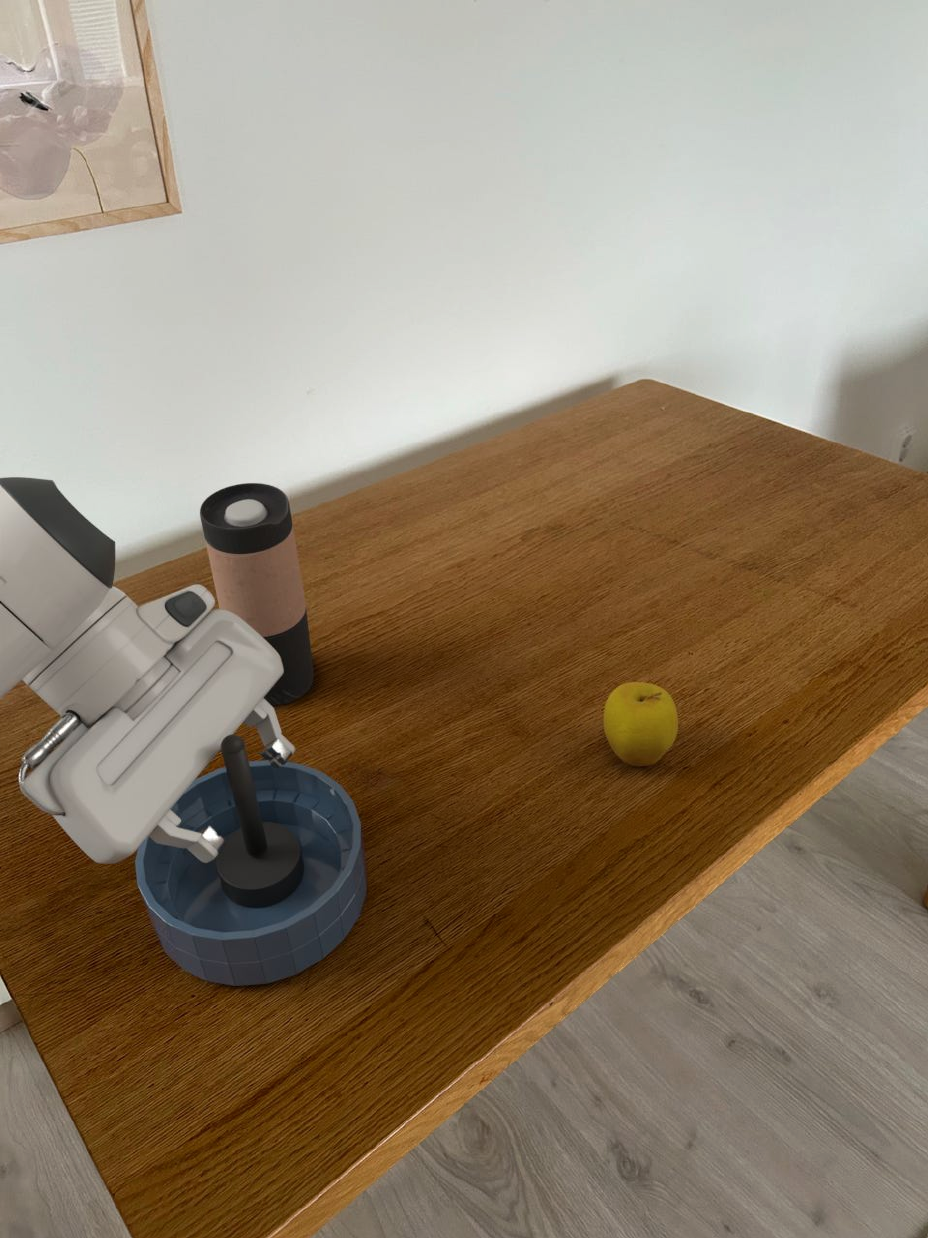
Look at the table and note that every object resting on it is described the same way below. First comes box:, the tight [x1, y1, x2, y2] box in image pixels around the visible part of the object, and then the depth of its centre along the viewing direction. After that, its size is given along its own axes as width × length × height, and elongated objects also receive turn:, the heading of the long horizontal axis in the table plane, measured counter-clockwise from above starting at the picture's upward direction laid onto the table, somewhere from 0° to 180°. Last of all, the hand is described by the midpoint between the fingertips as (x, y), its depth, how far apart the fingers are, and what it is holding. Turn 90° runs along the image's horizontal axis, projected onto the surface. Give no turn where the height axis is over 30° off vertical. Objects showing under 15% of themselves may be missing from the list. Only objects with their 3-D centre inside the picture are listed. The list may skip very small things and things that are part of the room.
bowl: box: [134, 759, 368, 987], centre depth 74 cm, size 16×16×6 cm
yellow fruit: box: [603, 681, 679, 767], centre depth 84 cm, size 6×6×8 cm
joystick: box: [216, 733, 304, 908], centre depth 72 cm, size 6×6×15 cm
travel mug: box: [199, 482, 314, 707], centre depth 89 cm, size 8×8×20 cm
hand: (253, 804), depth 71 cm, fingers open, 8 cm apart
